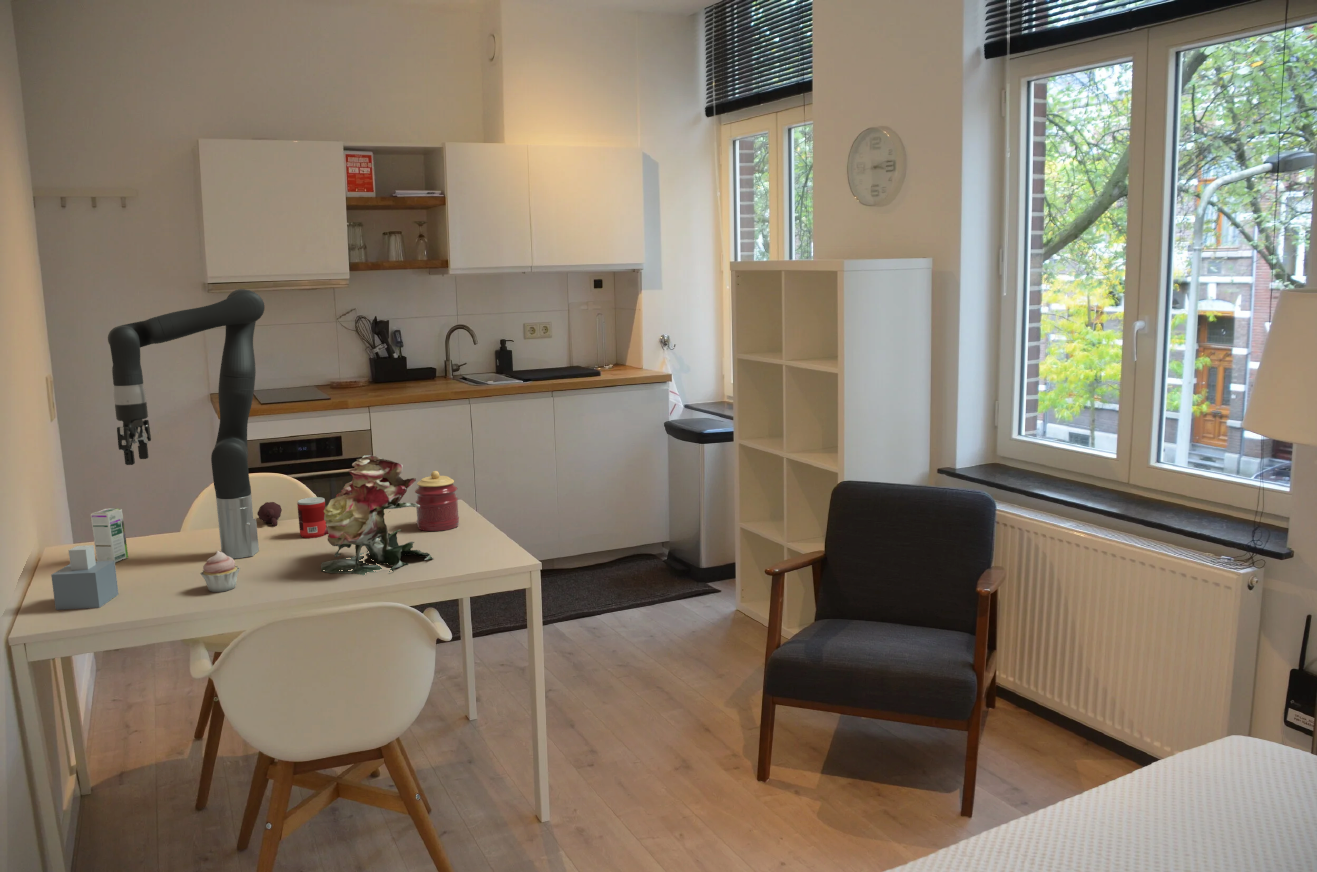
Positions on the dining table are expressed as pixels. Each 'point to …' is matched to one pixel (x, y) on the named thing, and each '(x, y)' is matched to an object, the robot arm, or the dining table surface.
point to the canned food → (311, 517)
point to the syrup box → (109, 535)
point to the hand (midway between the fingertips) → (137, 461)
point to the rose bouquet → (368, 517)
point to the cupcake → (220, 573)
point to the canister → (437, 503)
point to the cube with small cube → (84, 581)
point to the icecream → (270, 512)
